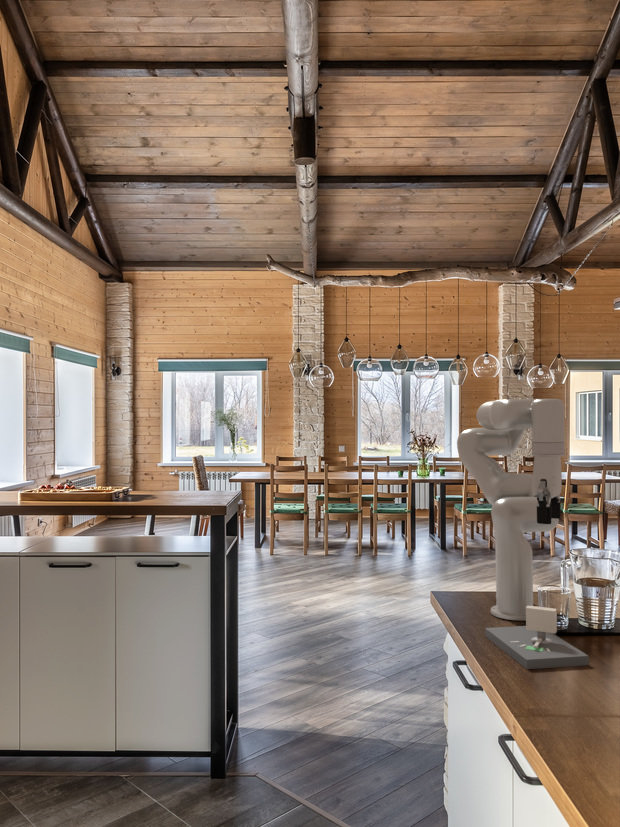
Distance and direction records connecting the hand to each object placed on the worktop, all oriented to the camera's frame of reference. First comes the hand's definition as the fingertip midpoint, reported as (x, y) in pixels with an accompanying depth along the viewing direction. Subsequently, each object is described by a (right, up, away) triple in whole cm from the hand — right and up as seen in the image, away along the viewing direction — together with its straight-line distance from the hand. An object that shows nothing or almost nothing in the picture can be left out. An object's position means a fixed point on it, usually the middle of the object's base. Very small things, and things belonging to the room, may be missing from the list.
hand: (549, 520), depth 161 cm
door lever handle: (-6, -26, -11) cm, 29 cm away
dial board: (-7, -28, -8) cm, 30 cm away
